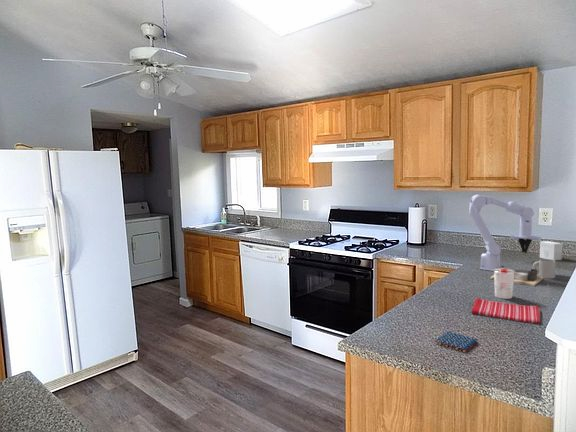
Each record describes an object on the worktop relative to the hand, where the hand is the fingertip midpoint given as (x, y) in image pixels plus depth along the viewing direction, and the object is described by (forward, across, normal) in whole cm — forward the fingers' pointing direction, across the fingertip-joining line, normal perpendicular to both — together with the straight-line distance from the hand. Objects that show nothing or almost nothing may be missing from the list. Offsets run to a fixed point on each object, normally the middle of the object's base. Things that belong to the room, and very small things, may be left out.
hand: (524, 252), depth 219 cm
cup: (+11, +11, -8) cm, 17 cm away
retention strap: (+7, +2, -22) cm, 23 cm away
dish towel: (+11, +13, -77) cm, 79 cm away
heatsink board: (+10, +2, -22) cm, 24 cm away
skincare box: (+11, +4, +42) cm, 44 cm away
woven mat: (+11, +10, -118) cm, 119 cm away
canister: (+11, +6, -56) cm, 57 cm away
